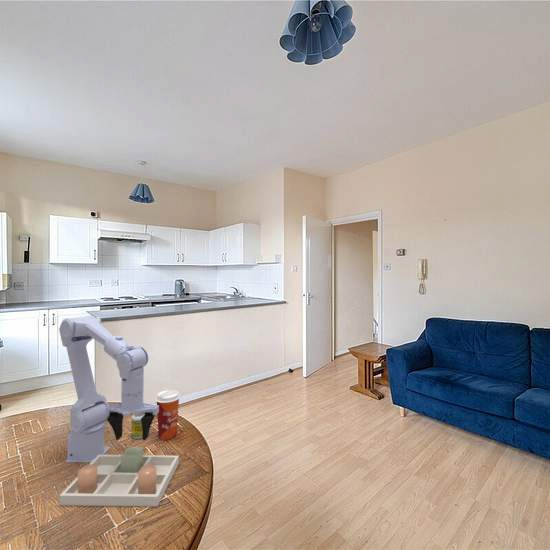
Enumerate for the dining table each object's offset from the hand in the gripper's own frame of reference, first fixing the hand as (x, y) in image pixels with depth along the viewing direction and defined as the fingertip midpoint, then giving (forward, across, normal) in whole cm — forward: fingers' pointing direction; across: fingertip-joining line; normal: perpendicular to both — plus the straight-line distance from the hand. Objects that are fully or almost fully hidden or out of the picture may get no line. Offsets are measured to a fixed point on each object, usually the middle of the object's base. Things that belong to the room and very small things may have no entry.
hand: (132, 438), depth 86 cm
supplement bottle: (+11, -7, +20) cm, 24 cm away
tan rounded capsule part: (+10, +8, -8) cm, 15 cm away
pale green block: (+10, 0, 0) cm, 10 cm away
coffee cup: (+11, +3, +20) cm, 23 cm away
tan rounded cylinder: (+10, -8, -8) cm, 15 cm away
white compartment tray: (+10, 0, -4) cm, 11 cm away
